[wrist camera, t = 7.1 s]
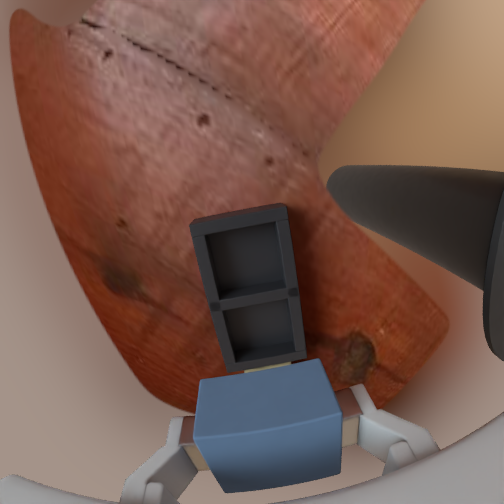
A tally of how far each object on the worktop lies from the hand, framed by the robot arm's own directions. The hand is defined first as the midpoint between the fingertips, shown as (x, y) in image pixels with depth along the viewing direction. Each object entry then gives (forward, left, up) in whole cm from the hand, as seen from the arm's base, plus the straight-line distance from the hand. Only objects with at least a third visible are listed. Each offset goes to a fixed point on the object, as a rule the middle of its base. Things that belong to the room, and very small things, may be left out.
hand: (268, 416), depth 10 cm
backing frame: (0, +1, -17) cm, 17 cm away
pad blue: (0, 0, -1) cm, 1 cm away
